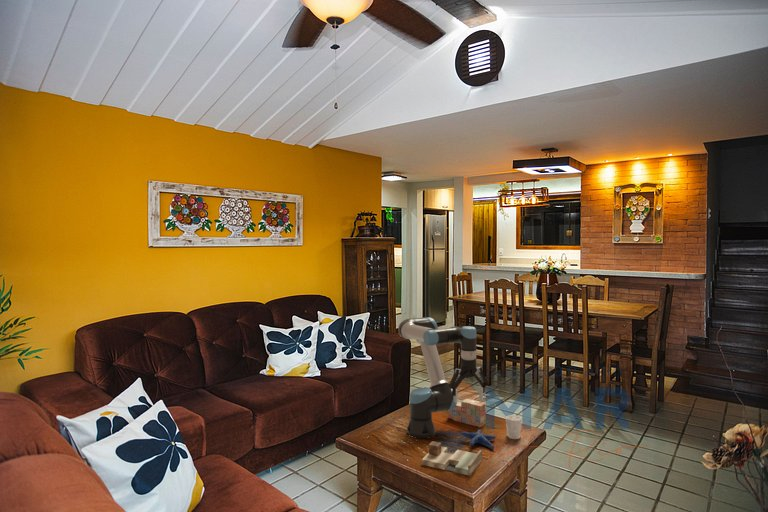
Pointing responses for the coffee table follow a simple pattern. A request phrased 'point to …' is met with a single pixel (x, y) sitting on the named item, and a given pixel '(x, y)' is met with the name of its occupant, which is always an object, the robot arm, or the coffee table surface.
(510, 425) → the white cup
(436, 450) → the walnut cube
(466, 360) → the robot arm
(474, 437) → the starfish
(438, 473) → the coffee table surface
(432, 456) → the board
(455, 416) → the stack of blocks
